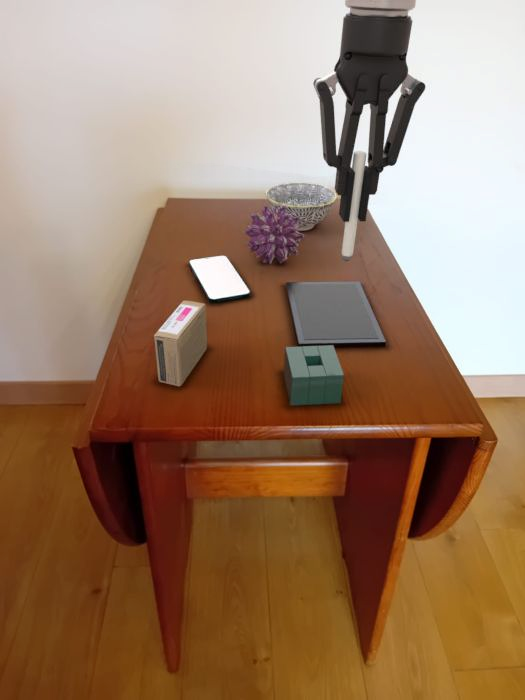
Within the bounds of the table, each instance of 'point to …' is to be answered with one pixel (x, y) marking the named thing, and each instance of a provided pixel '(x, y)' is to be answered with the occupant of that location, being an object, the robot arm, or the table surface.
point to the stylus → (354, 205)
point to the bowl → (302, 201)
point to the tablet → (333, 315)
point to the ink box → (181, 342)
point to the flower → (274, 234)
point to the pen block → (313, 375)
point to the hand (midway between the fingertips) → (352, 217)
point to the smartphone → (219, 279)
